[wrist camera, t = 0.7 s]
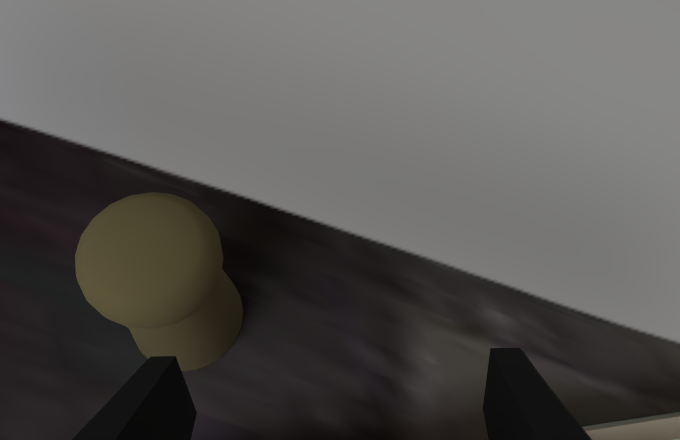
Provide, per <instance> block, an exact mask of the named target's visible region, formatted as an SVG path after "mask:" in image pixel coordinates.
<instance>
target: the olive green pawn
mask: <svg viewBox="0 0 680 440" xmlns="http://www.w3.org/2000/svg"><path fill="white" fill-rule="evenodd" d="M75 264H76V277H77V280H78V283H79V285H80V287H81V289H82V292H83V294H84V296H85V298H86V300H87V301H88V302H89V303H90V304H91V305H92V306H93V307H94V308H95V309H96V310H97V311H98V312H100V313H101V314H102V315H103V316H104V317H106V318H107V319H109V320H112V321H114V322H117V323H119V324H121V325H124V326H126V327H128V328H129V330H130V332H131V334H132V336H133V338H134V340H135V342H136V344H137V346H138V348H139V350H140V352H141V353H142V354H143V355H144V356H146V357H147V358H148V359H149V358H150V357H154V356H176V358H177V361H178V364H179V366H180V369H181V371H191V370H195V369H199V368H202V367H206V366H208V365H209V364H211V363H213V362H214V361H216V360H217V359H219V358H221V357H222V356H223V355H224V354H225V353H226V352H227V350H228V349H229V348H230V347H231V346H232V345H233V344H234V342H235V340H236V338H237V336H238V334H239V331H240V329H241V326H242V318H243V306H242V301H241V296H240V294H239V292H238V291H237V289H236V287H235V286H234V284H233V282H232V281H231V280H230V278H229V277H228V276H227V274H226V273H225V272H224V270H223V269H222V265H223V252H222V247H221V242H220V237H219V233H218V231H217V230H216V228H215V226H214V225H213V223H212V221H211V220H210V218H209V217H208V216H207V215H206V214H205V213H204V212H202V211H201V210H200V209H199V208H198V207H196V206H195V205H194V204H193V203H192V202H190V201H188V200H185V199H183V198H180V197H178V196H175V195H173V194H165V193H155V192H150V193H144V194H137V195H131V196H128V197H126V198H123V199H121V200H119V201H117V202H114V203H112V204H110V205H109V206H108V207H107V208H105V209H104V210H103V211H102V212H100V213H99V214H98V215H97V216H95V217H94V218H93V219H92V221H91V222H90V224H89V225H88V227H87V228H86V229H85V231H84V232H83V234H82V235H81V238H80V241H79V244H78V248H77V251H76V254H75Z"/></svg>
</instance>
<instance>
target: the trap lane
mask: <svg viewBox="0 0 680 440" xmlns="http://www.w3.org/2000/svg"><path fill="white" fill-rule="evenodd" d="M582 428H583V429H584V430H585V432H586V433H587V434H588V435H589V436H590V437H591V439H592V440H680V412H674V413H667V414H661V415H654V416H648V417H641V418H635V419H628V420H622V421H615V422H609V423H603V424H596V425H590V426H583V427H582Z"/></svg>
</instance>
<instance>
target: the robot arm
mask: <svg viewBox="0 0 680 440" xmlns="http://www.w3.org/2000/svg"><path fill="white" fill-rule="evenodd" d="M483 411H484V416H485V422H486V427H487V432H488V437H489V440H592V439H591V437H590V436H589V435H588V434H587V433H586V432H585V430H584V429H583V428H582V427H581V426H580V424H579V423H578V422H577V421H576V420H575V419H574V417H573V416H572V415H571V414H570V412H569V411H568V410H567V409H566V407H565V406H564V405H563V404H562V402H561V401H560V400H559V399H558V397H557V396H556V395H555V394H554V392H553V391H552V390H551V388H550V387H549V386H548V385H547V383H546V382H545V381H544V379H543V378H542V377H541V375H540V374H539V373H538V371H537V370H536V369H535V367H534V366H533V364H532V363H531V362H530V360H529V359H528V358H527V356H526V355H525V353H524V352H523V351H522V350H521V349H520V348H491V349H490V357H489V365H488V373H487V381H486V389H485V397H484V405H483ZM196 413H197V412H196V409H195V407H194V404H193V401H192V399H191V396H190V393H189V391H188V388H187V385H186V382H185V380H184V377H183V374H182V372H181V369H180V366H179V364H178V361H177V358H176V356H154V357H150V358H149V359H148V360H147V361H146V362H145V363H144V364H143V365H142V366H141V367H140V368H139V369H138V370H137V371H136V372H135V374H134V375H133V376H132V377H131V378H130V379H129V380H128V381H127V382H126V383H125V384H124V385H123V386H122V387H121V389H120V390H119V391H118V392H117V393H116V394H115V395H114V396H113V397H112V398H111V399H110V400H109V401H108V402H107V403H106V405H105V406H104V407H103V408H102V409H101V410H100V411H99V412H98V413H97V414H96V415H95V416H94V417H93V418H92V419H91V420H90V421H89V422H88V423H87V424H86V425H85V427H84V428H83V429H82V430H81V431H80V432H79V433H78V434H77V435H76V436H75V437H74V438H73V439H72V440H191V436H192V431H193V427H194V422H195V418H196Z"/></svg>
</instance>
